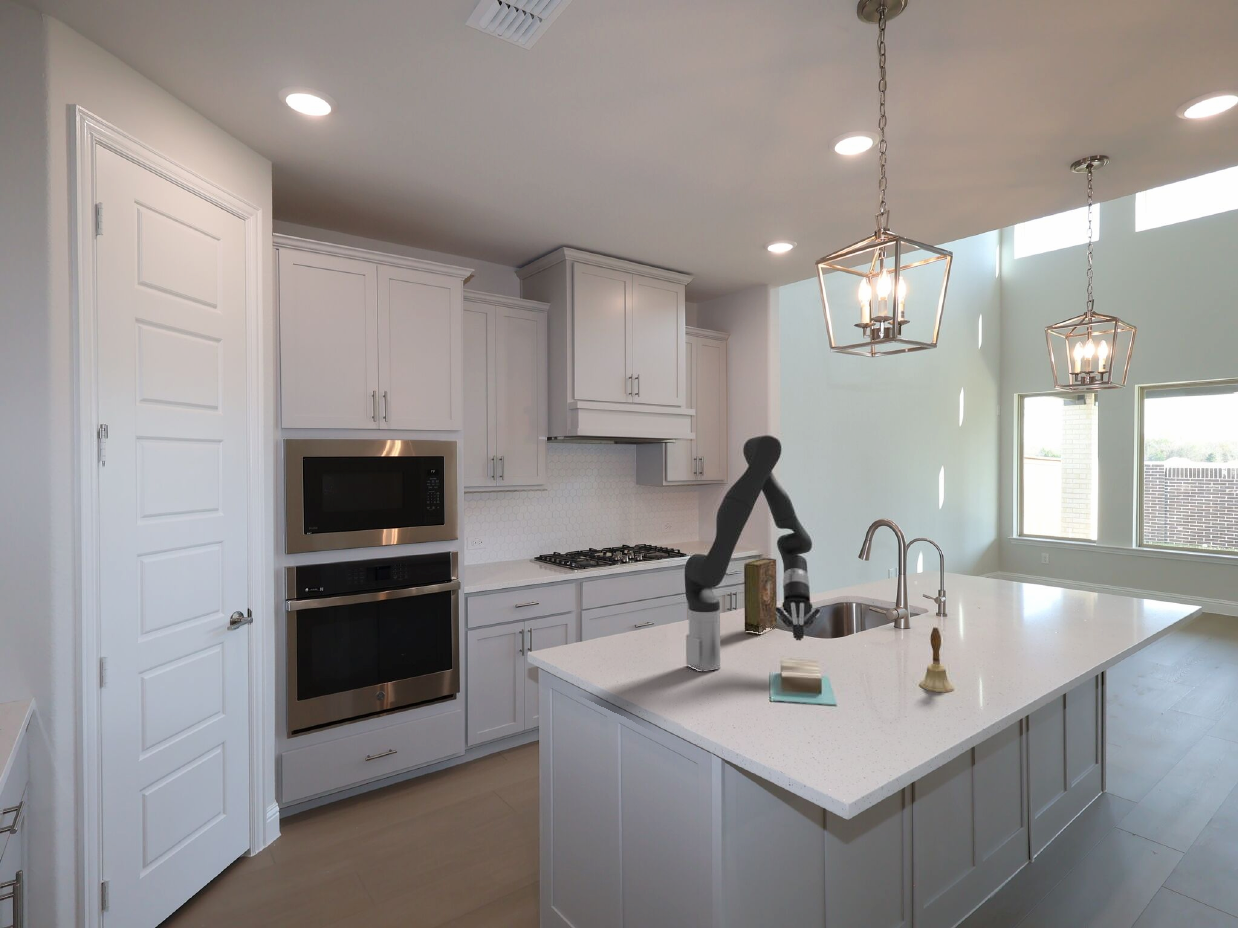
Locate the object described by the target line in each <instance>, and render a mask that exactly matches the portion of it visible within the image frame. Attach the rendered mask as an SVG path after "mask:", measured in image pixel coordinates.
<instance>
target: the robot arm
mask: <svg viewBox="0 0 1238 928" xmlns="http://www.w3.org/2000/svg"><path fill="white" fill-rule="evenodd" d="M742 451H743V453H742V454H743V456H744V459H745V461H746V463H747V465H748V466H747V468H746V470H745V472H743V474H742V475H741V476H740V477H739V478H738V479H737V480H736V482H735V483H734V484H733V485H732V486H731V487H729V489H728V490H727V492H726V494H725V495H724V497H723V499H722V501H721V504H720V506H719V507H718V510H717V511H716V512H717V513H716V519H715V522H716V523H715V527H716V528H715V529H716V530H715V531H716V532H715V537H714V541H713V543H712V545H711V548H710V549H709V551H708V552H707V554H702V553H695V554H694V553H693V555H691V556H689V558H688V559H687V561H686V563H685V565H684V588H685V591H684V592H685V598H686V601H687V604H688V634H686V635H685V648H686V649H685V655H686V657H685V658H686V659H685V661H686V663H685V665H686V664H687V665H690V666H691V667H694V668H696V669H698V670H711V669H716V668H719V667H720V668H721V607H720V606H721V604H720V600H719V598H718V597H717V596H716V595H715V593H714V591H713V590H712V589H713V588H716V587H717V586H719V585H720V584H721V583H722V581H723V580H724V578H725V576H726V573H727V571H728V567H729V564H730V561H731V559H732V556H733V553H734V550H735V549H736V546H737V543H738V541H739V539H740V538H741V537H740V536H741V534H742V532H743V530H744V527H745V526H746V523H747V522H748V519H749V518H750V517H751V514H752V511H753V510H754V506H755V504H756V503H757V500H758V498H759V496H760V495H761V492H762V493H763V496H764V498H765V500H766V502H767V505H768V507H769V511H770V513H771V516H772V519H773V522H774V525H775V527H776V528H778V529H781V530H785V529H786V530H791V531H792V532H790V533H786V534H783V535H780V536H779V537H778V539H777V541H776V547H777V549H778V550H777V551H778V552H779V554H780V556H781V560H782V564H783V577H782V578H783V579H782V581H783V583H782V589H783V602H782V604H781V605H782V606H780V607H778V606H777V608H776V615H777V617H778V618H779V620H780V621H781V622H782V623H783V624H784V625H785V626H786V627H787V628H792V634H793V635H792V636H793V639H795V641H802V640H803V639H804V638H805V637H804V636H805V634H804V633H805V631H804V630H805V629H809V628H810V627H811V626H812V625H813V623H815V622H816V620H818V618H819V617H820V613H821V612H820V611H821V610H820V608H815V607H813V604H812V602H811V592H810V591H811V590H810V579H809V575H808V561H807V559H806V558H805V557H804V556H802V555H803V554H807V553H809V552H810V551H812V547H813V541H812V539H811V536H810V534H809V533H808V532H807V530H806V529H805V527H804V526H803V525H802V524H801V522H800V520H799V519H798V516H797V513H796V511H795V507H794V506H793V502H792V500H791V498H790V496H789V494H788V493H787V492H786V490H785V488H783V486H782V485H781V484H780V482H779V481H778V480H777V478H776V475H774V473H773V470H774V468H775V466H776V465H777V463H778V461H779V460H780V458H781V456H782V455H781V454H782V444H781V441H780V440H779V438H778V437H777V436H774V435H771V434H766V435H760V436H755V437H751V438H749V439H747V440H746V442H745V443H744V445H743V450H742ZM809 614H810V615H809ZM787 615H788V616H787ZM808 615H809V616H808ZM789 617H790V618H789ZM806 617H807V618H806ZM805 618H806V620H805Z"/></svg>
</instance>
